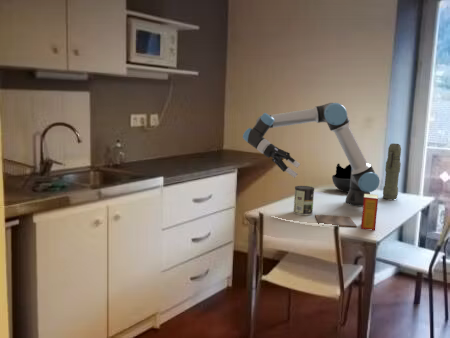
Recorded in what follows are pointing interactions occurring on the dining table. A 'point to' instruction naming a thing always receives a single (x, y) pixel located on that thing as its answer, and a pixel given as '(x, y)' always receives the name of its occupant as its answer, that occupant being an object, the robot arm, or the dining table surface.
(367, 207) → the baking soda box
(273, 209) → the dining table surface
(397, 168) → the olive green rough column
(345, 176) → the coal bowl
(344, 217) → the walnut board
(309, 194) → the coffee can
